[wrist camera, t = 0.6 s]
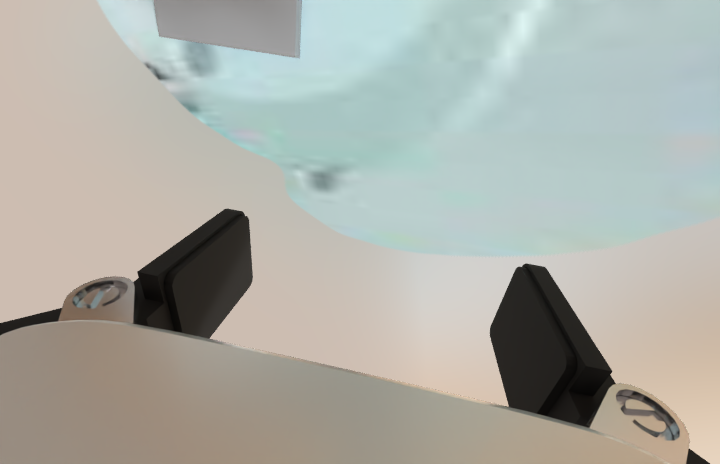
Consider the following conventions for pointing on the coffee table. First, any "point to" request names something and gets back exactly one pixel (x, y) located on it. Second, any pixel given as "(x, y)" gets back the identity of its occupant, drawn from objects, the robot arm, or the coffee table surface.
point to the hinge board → (234, 23)
